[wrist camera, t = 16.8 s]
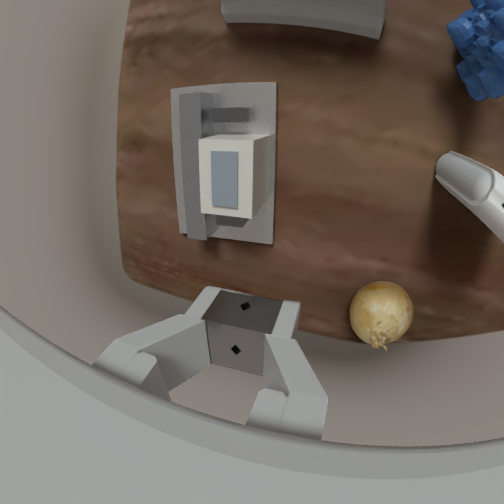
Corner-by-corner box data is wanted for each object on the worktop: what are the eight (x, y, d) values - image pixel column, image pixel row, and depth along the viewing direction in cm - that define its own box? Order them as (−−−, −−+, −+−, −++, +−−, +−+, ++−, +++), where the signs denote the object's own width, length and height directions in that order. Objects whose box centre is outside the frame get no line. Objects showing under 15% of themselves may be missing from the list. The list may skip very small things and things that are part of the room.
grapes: (425, -4, 15) (461, -50, 5) (478, 17, 14) (531, -11, 4) (426, 89, 21) (476, 79, 11) (479, 108, 20) (544, 114, 9)
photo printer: (504, 197, 23) (563, 243, 12) (486, 225, 25) (537, 281, 14) (446, 143, 23) (504, 166, 12) (427, 175, 25) (475, 216, 15)
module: (269, 135, 28) (252, 141, 22) (267, 199, 31) (250, 220, 25) (223, 133, 29) (197, 139, 23) (223, 194, 32) (199, 213, 27)
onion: (339, 286, 34) (336, 323, 28) (398, 261, 30) (408, 296, 24) (362, 329, 36) (362, 368, 30) (415, 309, 33) (425, 347, 26)
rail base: (277, 82, 25) (269, 78, 22) (273, 241, 34) (266, 256, 31) (174, 89, 28) (155, 88, 25) (182, 230, 37) (168, 242, 34)
